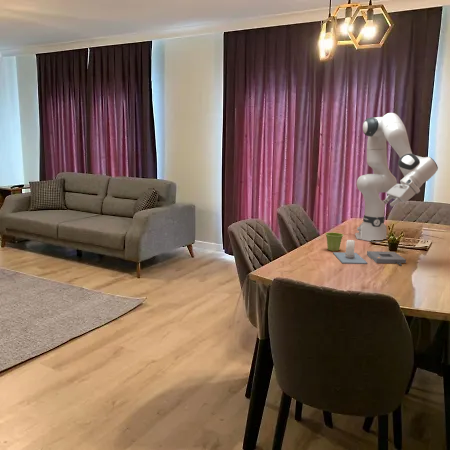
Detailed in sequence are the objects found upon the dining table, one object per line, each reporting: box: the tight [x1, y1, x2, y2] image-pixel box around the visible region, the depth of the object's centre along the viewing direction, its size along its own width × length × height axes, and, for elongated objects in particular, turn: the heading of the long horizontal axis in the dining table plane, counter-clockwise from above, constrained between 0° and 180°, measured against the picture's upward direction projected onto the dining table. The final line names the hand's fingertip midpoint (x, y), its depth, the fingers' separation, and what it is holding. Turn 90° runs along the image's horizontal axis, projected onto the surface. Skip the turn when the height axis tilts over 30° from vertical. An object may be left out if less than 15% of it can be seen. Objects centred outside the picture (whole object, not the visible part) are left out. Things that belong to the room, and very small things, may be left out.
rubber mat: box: [332, 251, 368, 265], centre depth 236 cm, size 20×12×1 cm, turn 0°
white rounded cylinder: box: [345, 239, 356, 259], centre depth 236 cm, size 5×5×8 cm
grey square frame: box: [366, 250, 407, 267], centre depth 234 cm, size 21×14×2 cm, turn 0°
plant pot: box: [325, 231, 344, 252], centre depth 253 cm, size 9×9×9 cm
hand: (387, 204), depth 233 cm, fingers open, 8 cm apart
